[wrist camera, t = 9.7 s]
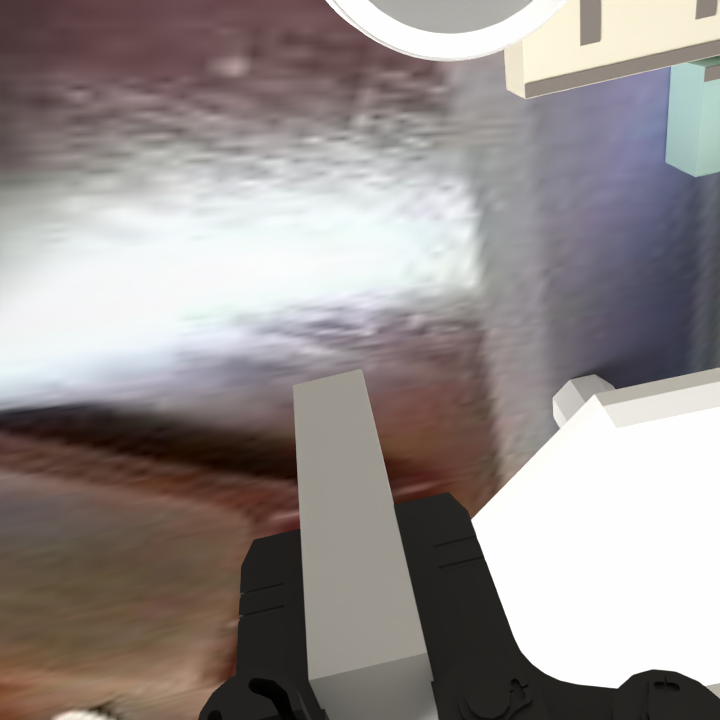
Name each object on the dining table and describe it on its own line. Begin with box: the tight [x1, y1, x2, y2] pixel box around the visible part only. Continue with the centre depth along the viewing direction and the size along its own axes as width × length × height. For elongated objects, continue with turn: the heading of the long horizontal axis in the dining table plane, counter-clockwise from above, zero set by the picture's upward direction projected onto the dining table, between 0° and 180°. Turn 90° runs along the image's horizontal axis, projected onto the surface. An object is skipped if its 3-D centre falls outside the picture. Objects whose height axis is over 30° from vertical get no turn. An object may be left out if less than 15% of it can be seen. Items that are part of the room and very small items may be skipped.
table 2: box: [471, 368, 720, 688], centre depth 42 cm, size 28×28×17 cm
